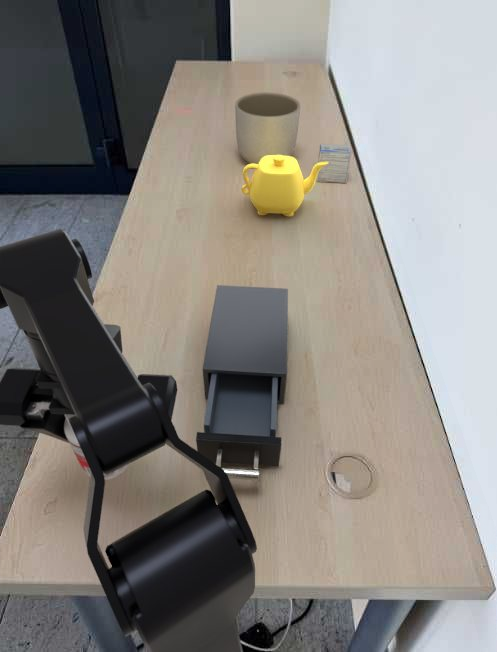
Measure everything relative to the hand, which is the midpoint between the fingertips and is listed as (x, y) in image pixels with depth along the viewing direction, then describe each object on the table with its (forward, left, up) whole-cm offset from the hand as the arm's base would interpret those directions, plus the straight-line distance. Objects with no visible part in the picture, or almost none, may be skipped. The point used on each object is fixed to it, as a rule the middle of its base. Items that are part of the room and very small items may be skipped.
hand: (101, 441), depth 57 cm
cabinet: (+26, -16, -13) cm, 33 cm away
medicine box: (+91, -34, -13) cm, 98 cm away
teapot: (+76, -21, -13) cm, 80 cm away
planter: (+101, -16, -13) cm, 103 cm away
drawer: (+12, -16, -12) cm, 23 cm away
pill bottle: (0, 0, -4) cm, 4 cm away
